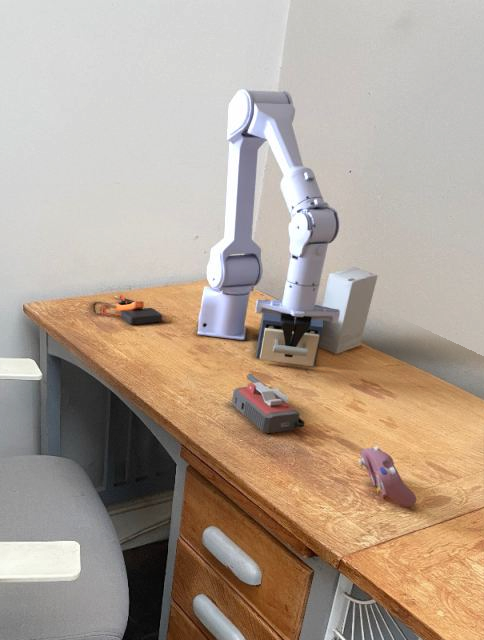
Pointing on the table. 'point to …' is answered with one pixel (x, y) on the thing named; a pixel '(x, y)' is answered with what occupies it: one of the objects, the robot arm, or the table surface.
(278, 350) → the drawer
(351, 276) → the cosmetic box
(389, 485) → the video game controller
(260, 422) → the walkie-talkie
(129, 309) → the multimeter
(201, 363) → the table surface
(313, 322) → the cabinet
